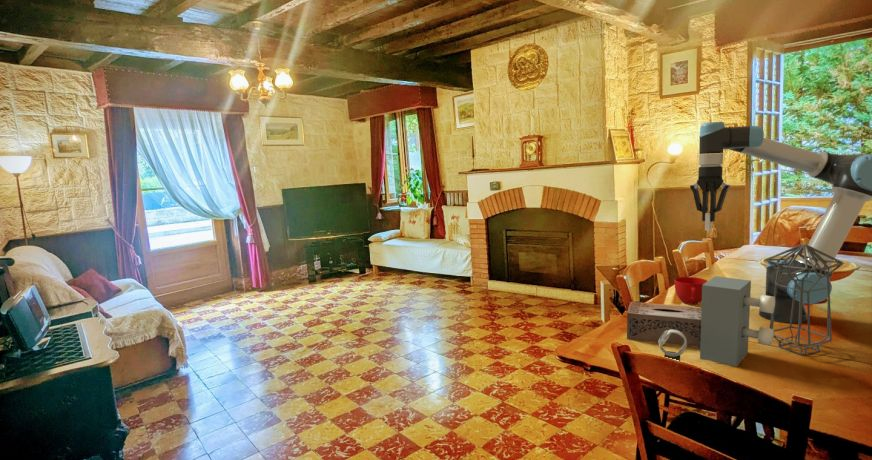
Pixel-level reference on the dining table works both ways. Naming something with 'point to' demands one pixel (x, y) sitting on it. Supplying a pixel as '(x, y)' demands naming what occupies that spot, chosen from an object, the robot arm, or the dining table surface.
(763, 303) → the upper knob
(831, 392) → the dining table surface
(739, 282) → the knob mount
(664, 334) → the watch
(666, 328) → the tissue box cover
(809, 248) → the geometric lantern
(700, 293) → the ceramic cup
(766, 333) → the lower knob
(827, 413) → the dining table surface
